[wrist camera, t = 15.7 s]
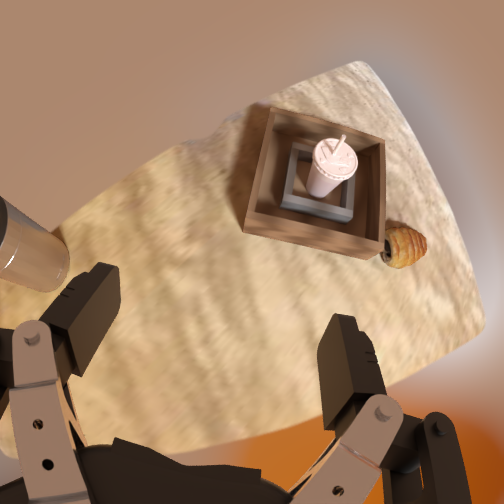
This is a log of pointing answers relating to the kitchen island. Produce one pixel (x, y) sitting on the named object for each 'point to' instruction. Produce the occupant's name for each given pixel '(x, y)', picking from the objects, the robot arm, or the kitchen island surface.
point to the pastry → (403, 247)
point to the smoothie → (330, 166)
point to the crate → (318, 209)
